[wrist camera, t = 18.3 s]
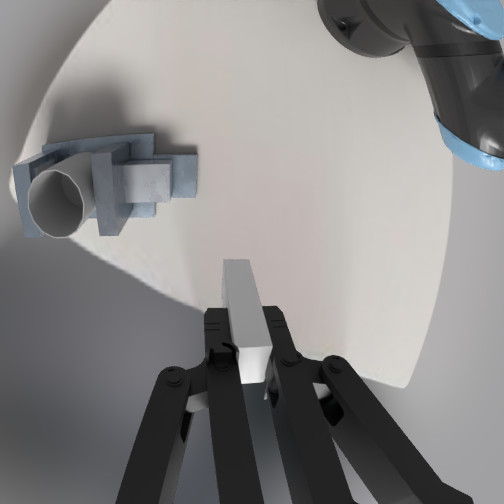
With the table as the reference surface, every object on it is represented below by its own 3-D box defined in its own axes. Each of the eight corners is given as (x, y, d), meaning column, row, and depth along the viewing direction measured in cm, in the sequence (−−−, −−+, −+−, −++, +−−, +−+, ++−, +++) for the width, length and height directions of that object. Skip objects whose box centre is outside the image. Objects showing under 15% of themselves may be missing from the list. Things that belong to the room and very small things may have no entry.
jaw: (109, 144, 31) (88, 154, 24) (173, 141, 32) (164, 150, 26) (113, 212, 36) (96, 235, 29) (172, 211, 37) (166, 235, 31)
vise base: (46, 144, 29) (11, 158, 22) (198, 132, 34) (195, 141, 26) (54, 216, 35) (27, 244, 28) (195, 214, 40) (193, 244, 32)
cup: (65, 148, 30) (28, 165, 21) (115, 155, 32) (86, 174, 23) (61, 202, 33) (29, 232, 25) (107, 211, 36) (82, 244, 27)
